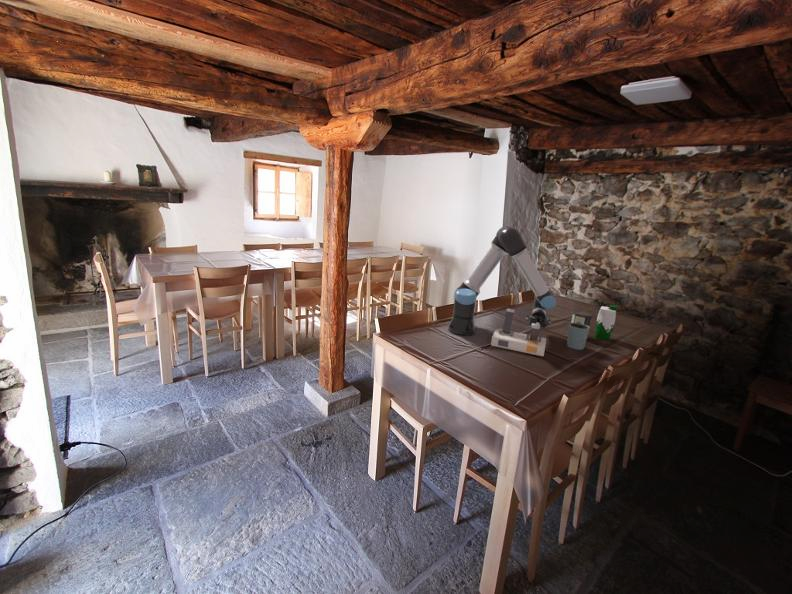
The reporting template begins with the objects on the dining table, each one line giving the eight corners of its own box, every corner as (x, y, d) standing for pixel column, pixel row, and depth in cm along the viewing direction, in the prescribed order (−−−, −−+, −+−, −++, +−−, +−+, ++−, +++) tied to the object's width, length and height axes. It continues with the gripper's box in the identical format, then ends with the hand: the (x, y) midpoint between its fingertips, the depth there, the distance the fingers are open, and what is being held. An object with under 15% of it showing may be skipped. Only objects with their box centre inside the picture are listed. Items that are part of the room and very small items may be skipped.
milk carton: (610, 341, 219) (617, 308, 214) (592, 338, 223) (599, 305, 218) (610, 337, 226) (618, 305, 221) (593, 334, 230) (600, 302, 225)
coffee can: (584, 334, 229) (589, 311, 225) (589, 340, 219) (594, 316, 215) (566, 331, 231) (571, 309, 227) (570, 337, 221) (575, 314, 217)
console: (490, 345, 200) (492, 332, 198) (495, 337, 213) (497, 324, 211) (543, 356, 191) (545, 342, 189) (544, 347, 203) (547, 334, 201)
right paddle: (529, 339, 197) (531, 326, 187) (530, 335, 198) (531, 322, 189) (537, 341, 195) (539, 327, 186) (538, 337, 197) (540, 323, 187)
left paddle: (502, 330, 203) (506, 307, 205) (502, 331, 205) (507, 308, 207) (510, 332, 202) (514, 309, 204) (510, 333, 204) (514, 310, 206)
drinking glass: (575, 351, 201) (580, 329, 198) (560, 343, 210) (564, 323, 207) (589, 349, 205) (594, 328, 202) (574, 342, 214) (578, 321, 211)
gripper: (550, 324, 213) (549, 338, 191) (525, 320, 217) (522, 333, 196) (552, 311, 211) (552, 323, 189) (527, 308, 215) (524, 319, 194)
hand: (536, 328), depth 193 cm, fingers closed
